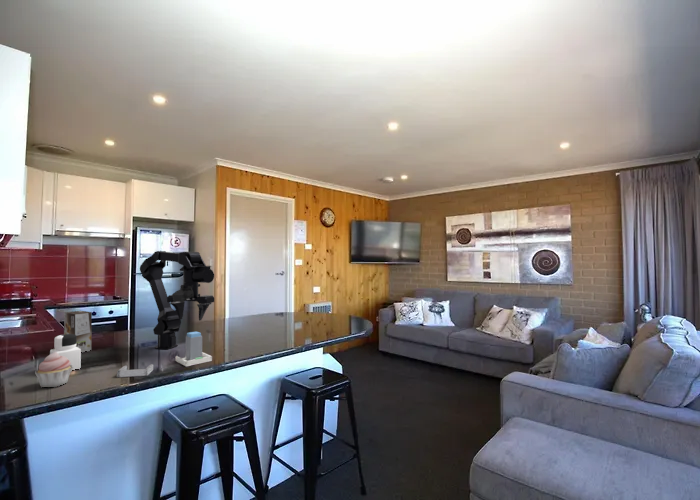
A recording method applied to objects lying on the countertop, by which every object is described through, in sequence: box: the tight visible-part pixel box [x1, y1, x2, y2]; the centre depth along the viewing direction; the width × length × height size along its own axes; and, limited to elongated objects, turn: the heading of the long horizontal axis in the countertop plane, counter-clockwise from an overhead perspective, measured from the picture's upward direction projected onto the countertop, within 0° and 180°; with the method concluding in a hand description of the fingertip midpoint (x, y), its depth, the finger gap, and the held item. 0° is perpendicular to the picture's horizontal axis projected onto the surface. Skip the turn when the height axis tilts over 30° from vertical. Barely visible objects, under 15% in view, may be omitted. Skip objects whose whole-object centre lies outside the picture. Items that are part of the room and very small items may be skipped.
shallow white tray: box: [116, 363, 154, 378], centre depth 121 cm, size 6×9×2 cm, turn 101°
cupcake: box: [34, 352, 73, 388], centre depth 111 cm, size 9×9×10 cm
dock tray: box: [175, 351, 213, 367], centre depth 136 cm, size 10×10×2 cm
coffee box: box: [63, 310, 93, 353], centre depth 149 cm, size 9×6×16 cm
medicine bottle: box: [49, 333, 82, 371], centre depth 125 cm, size 7×7×12 cm
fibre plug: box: [184, 331, 203, 361], centre depth 136 cm, size 4×4×10 cm
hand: (190, 319), depth 149 cm, fingers open, 9 cm apart
